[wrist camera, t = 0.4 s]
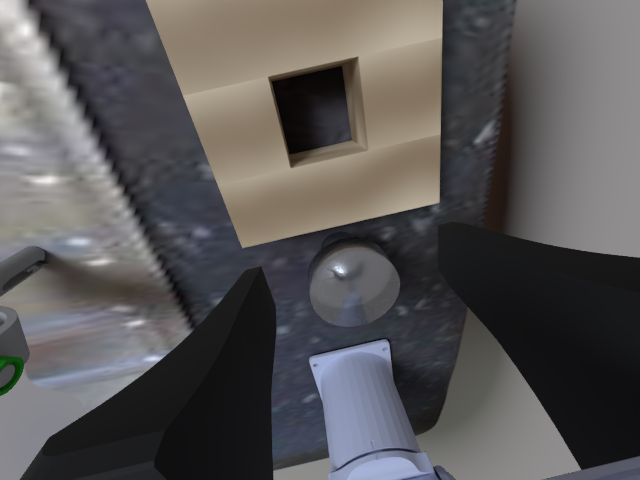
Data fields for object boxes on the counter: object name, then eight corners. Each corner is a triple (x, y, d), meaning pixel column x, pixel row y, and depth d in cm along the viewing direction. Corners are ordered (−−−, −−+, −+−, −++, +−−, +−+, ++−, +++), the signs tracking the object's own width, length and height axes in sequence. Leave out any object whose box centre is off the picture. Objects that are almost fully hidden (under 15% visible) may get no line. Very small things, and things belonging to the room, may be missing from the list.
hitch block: (411, 184, 20) (439, 202, 16) (250, 221, 20) (242, 248, 16) (403, -39, 14) (444, -86, 10) (175, 11, 14) (138, -18, 10)
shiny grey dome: (377, 269, 23) (402, 315, 18) (312, 284, 23) (320, 334, 18) (370, 209, 20) (397, 243, 15) (297, 225, 20) (301, 265, 15)
